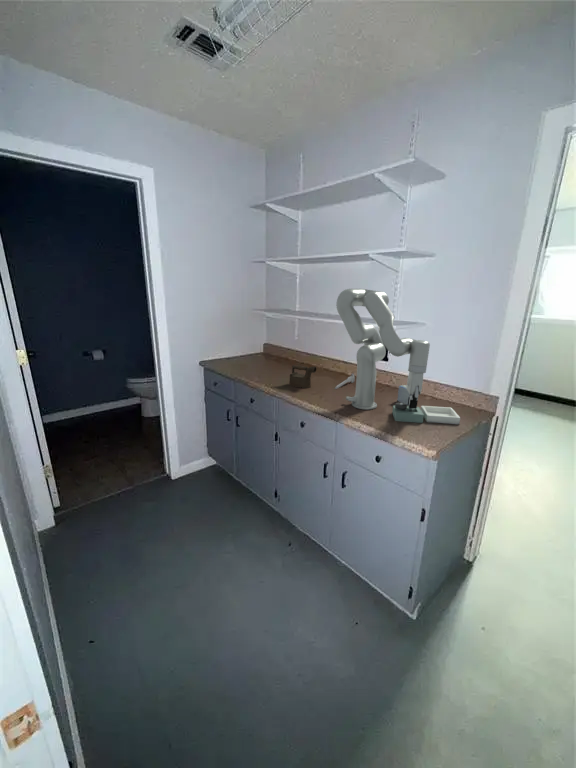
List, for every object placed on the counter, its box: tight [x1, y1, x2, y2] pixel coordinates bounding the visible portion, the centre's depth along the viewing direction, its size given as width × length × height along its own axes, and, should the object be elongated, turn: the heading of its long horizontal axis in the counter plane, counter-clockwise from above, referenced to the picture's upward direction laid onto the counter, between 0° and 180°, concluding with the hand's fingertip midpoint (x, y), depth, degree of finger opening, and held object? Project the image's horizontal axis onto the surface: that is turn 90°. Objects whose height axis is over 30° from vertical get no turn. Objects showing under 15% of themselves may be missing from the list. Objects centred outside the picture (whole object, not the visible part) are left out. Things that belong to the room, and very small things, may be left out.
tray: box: [420, 405, 461, 425], centre depth 155 cm, size 14×13×3 cm
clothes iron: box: [289, 364, 317, 389], centre depth 200 cm, size 8×16×13 cm, turn 56°
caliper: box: [334, 372, 355, 390], centre depth 204 cm, size 20×1×6 cm, turn 137°
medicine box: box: [397, 384, 409, 406], centre depth 174 cm, size 8×4×9 cm, turn 26°
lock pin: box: [408, 396, 415, 412], centre depth 153 cm, size 3×3×10 cm
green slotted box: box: [391, 402, 424, 424], centre depth 154 cm, size 12×10×7 cm
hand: (412, 406), depth 153 cm, fingers closed on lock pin, 3 cm apart
